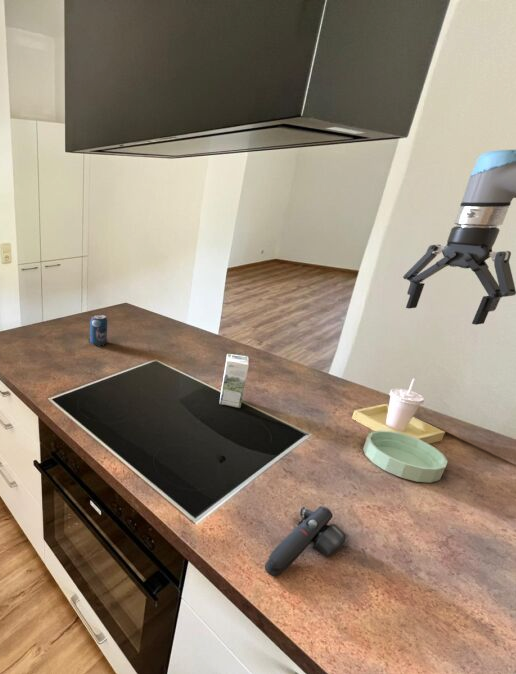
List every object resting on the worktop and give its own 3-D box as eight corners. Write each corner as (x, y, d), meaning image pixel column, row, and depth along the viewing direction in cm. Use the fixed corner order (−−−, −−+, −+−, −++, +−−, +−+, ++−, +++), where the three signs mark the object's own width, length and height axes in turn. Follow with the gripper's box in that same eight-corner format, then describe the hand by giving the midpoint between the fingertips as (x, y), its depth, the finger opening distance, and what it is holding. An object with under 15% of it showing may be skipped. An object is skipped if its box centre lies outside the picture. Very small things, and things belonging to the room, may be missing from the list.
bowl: (455, 476, 77) (463, 461, 76) (411, 490, 74) (418, 474, 73) (389, 439, 89) (394, 426, 88) (349, 450, 86) (353, 436, 84)
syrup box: (240, 399, 108) (248, 355, 103) (240, 409, 103) (249, 363, 98) (220, 395, 110) (227, 352, 105) (219, 405, 105) (226, 360, 100)
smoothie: (417, 431, 91) (437, 382, 86) (401, 437, 89) (421, 387, 84) (388, 417, 97) (405, 371, 92) (373, 423, 95) (389, 376, 90)
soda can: (98, 348, 146) (99, 320, 142) (86, 343, 151) (86, 316, 147) (110, 343, 150) (110, 316, 146) (97, 339, 155) (98, 312, 151)
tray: (441, 440, 89) (445, 431, 88) (407, 449, 86) (411, 440, 85) (382, 411, 101) (385, 403, 100) (351, 418, 98) (354, 410, 97)
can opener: (308, 516, 68) (315, 493, 66) (349, 545, 63) (358, 521, 61) (246, 558, 61) (252, 533, 59) (287, 595, 55) (295, 570, 53)
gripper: (402, 223, 92) (378, 303, 100) (546, 231, 70) (500, 333, 77) (423, 222, 94) (397, 301, 101) (570, 229, 71) (522, 329, 79)
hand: (442, 315), depth 89 cm, fingers open, 13 cm apart
